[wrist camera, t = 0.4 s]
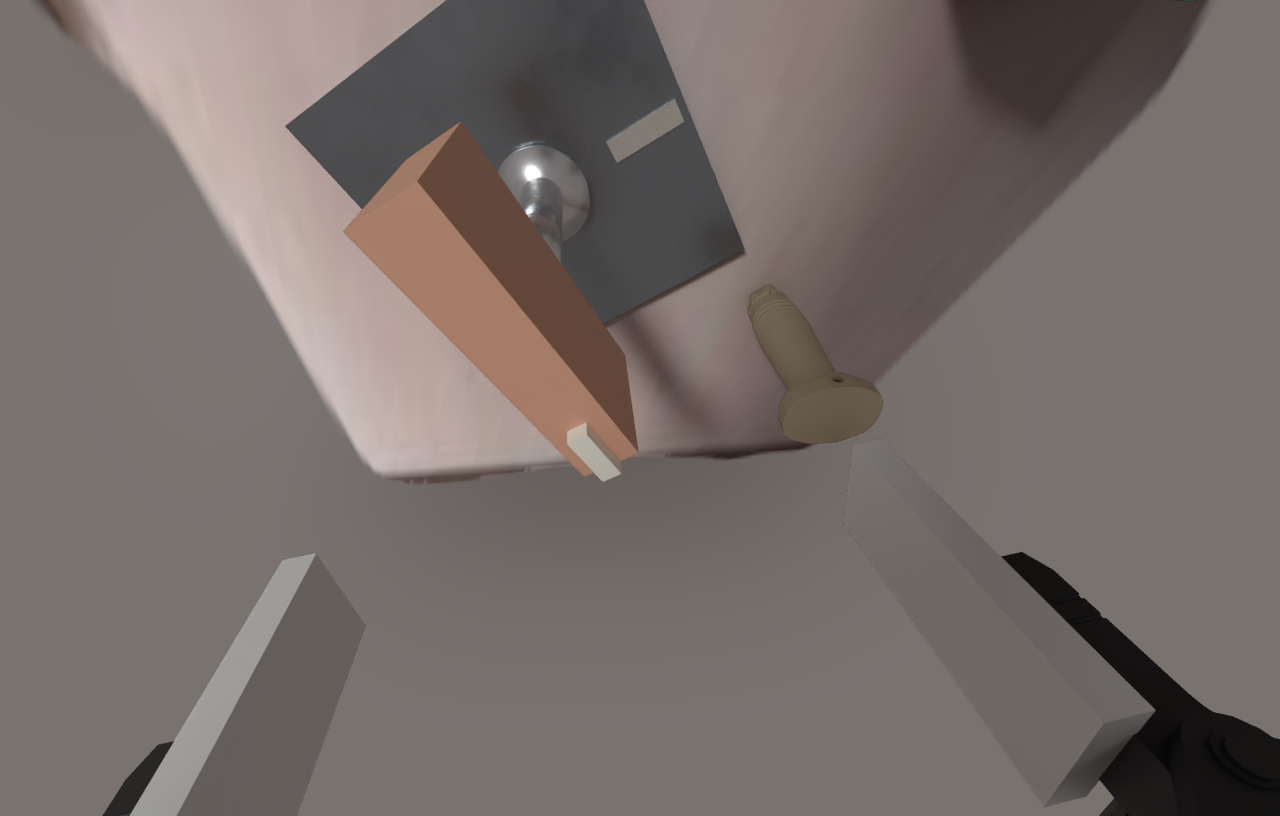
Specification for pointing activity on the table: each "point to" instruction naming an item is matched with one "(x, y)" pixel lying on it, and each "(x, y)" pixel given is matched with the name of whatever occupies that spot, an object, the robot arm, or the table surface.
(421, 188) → the pink plank with tab
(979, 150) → the table surface
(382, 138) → the post stand
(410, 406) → the table surface
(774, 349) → the handle
